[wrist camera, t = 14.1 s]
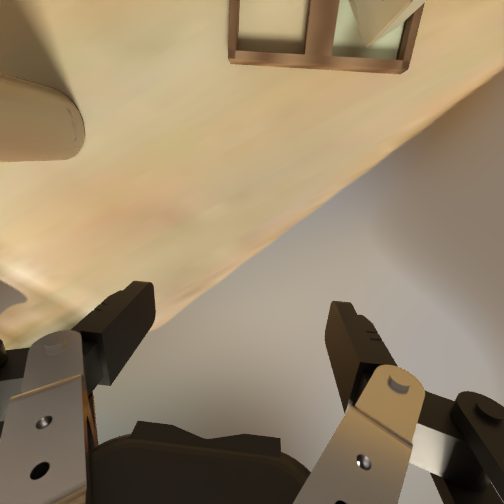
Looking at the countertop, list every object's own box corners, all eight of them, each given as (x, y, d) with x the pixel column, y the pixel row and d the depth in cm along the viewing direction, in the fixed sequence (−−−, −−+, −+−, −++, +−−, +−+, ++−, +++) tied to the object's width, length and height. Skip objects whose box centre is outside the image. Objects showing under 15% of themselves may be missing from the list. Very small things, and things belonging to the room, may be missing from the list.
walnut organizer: (230, 63, 32) (228, 58, 30) (235, -72, 28) (232, -88, 26) (400, 74, 31) (408, 69, 29) (432, -64, 27) (444, -80, 25)
